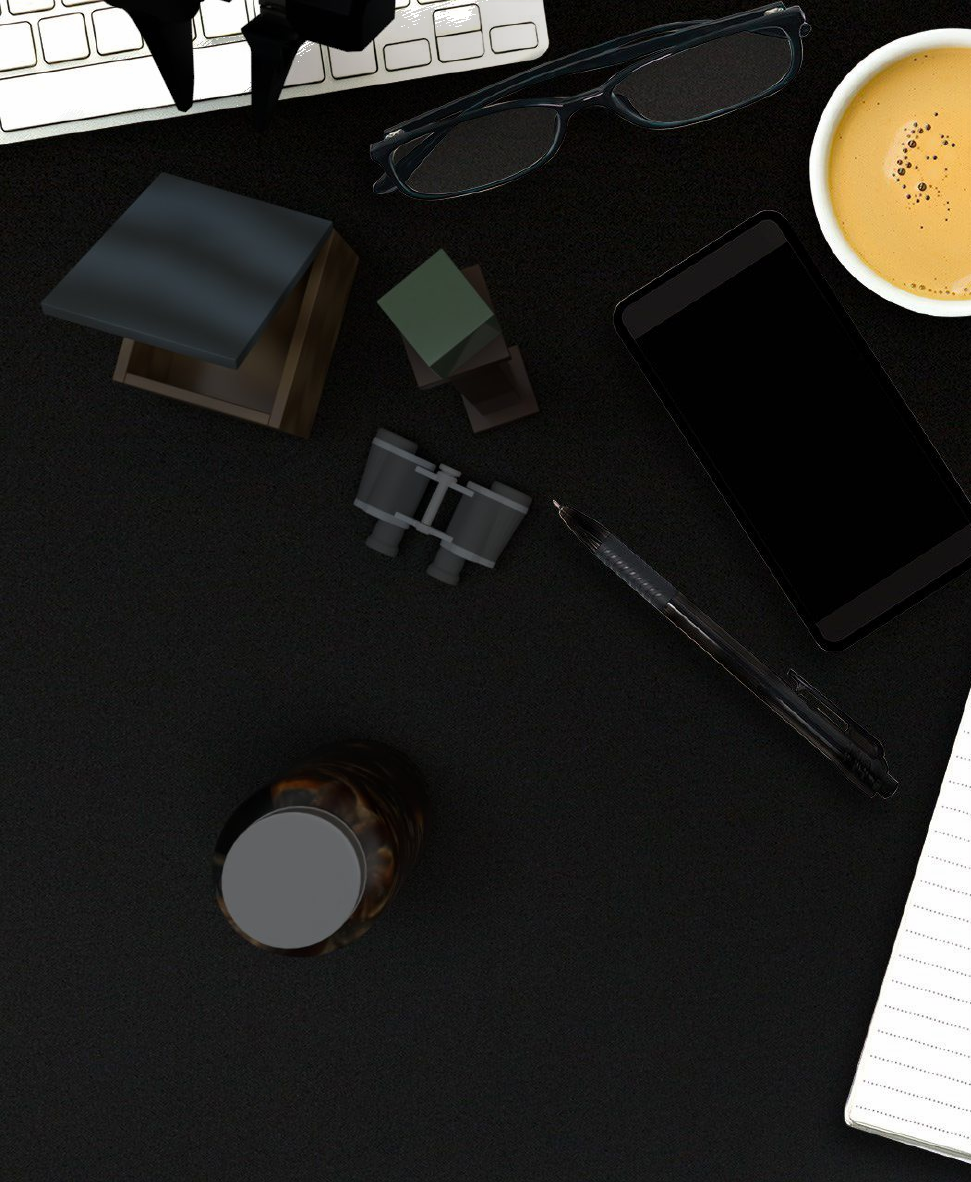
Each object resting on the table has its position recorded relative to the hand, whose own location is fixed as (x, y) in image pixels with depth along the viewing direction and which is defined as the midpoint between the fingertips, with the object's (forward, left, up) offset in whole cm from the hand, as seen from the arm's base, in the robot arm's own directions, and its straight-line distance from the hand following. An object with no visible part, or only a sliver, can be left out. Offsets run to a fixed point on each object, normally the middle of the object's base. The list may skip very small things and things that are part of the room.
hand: (223, 120), depth 62 cm
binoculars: (+25, +2, -14) cm, 28 cm away
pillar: (+18, +9, -14) cm, 24 cm away
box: (+8, -5, -14) cm, 17 cm away
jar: (+44, -11, -14) cm, 47 cm away
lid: (+7, -5, -2) cm, 9 cm away
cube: (+18, +9, +8) cm, 22 cm away
